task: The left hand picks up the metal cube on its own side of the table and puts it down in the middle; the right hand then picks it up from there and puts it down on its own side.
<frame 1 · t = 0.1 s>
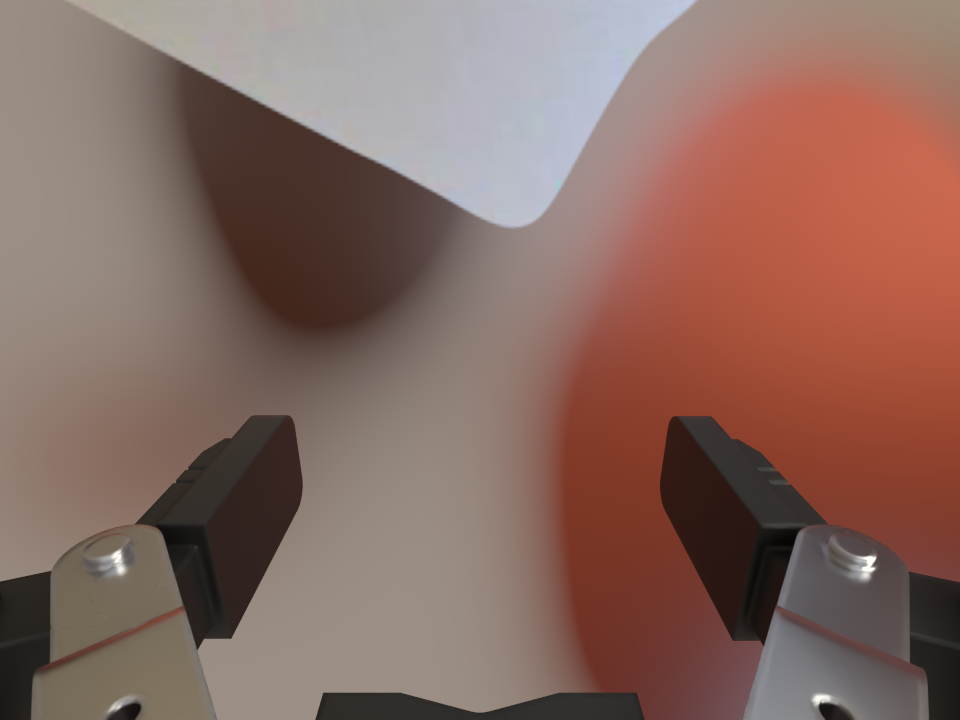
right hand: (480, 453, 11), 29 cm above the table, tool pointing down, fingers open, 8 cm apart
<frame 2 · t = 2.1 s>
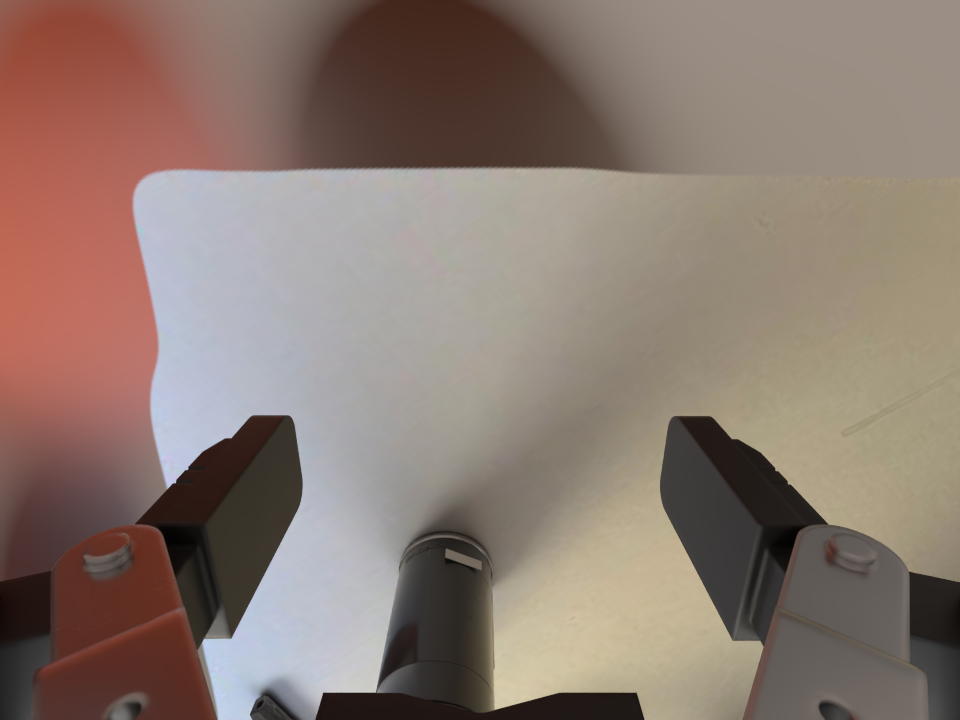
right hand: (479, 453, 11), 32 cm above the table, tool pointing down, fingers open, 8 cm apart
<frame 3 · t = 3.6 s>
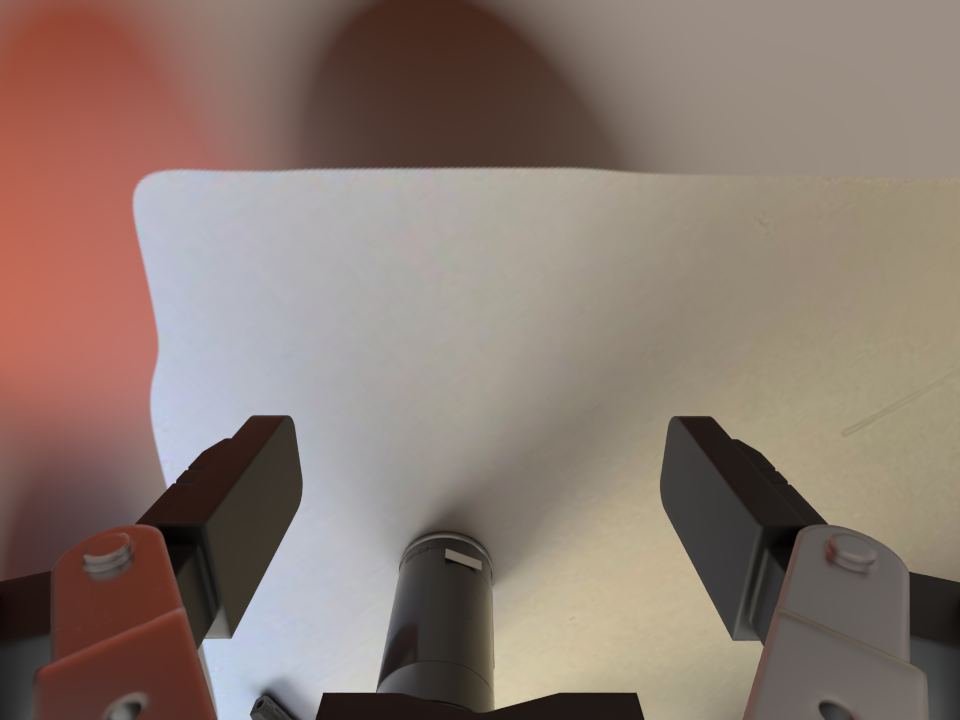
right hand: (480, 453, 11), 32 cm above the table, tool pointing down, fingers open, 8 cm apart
when the left hand's fingers open (2 cm above the table, at t = 5.1 s): metal cube stays where it is, on the table.
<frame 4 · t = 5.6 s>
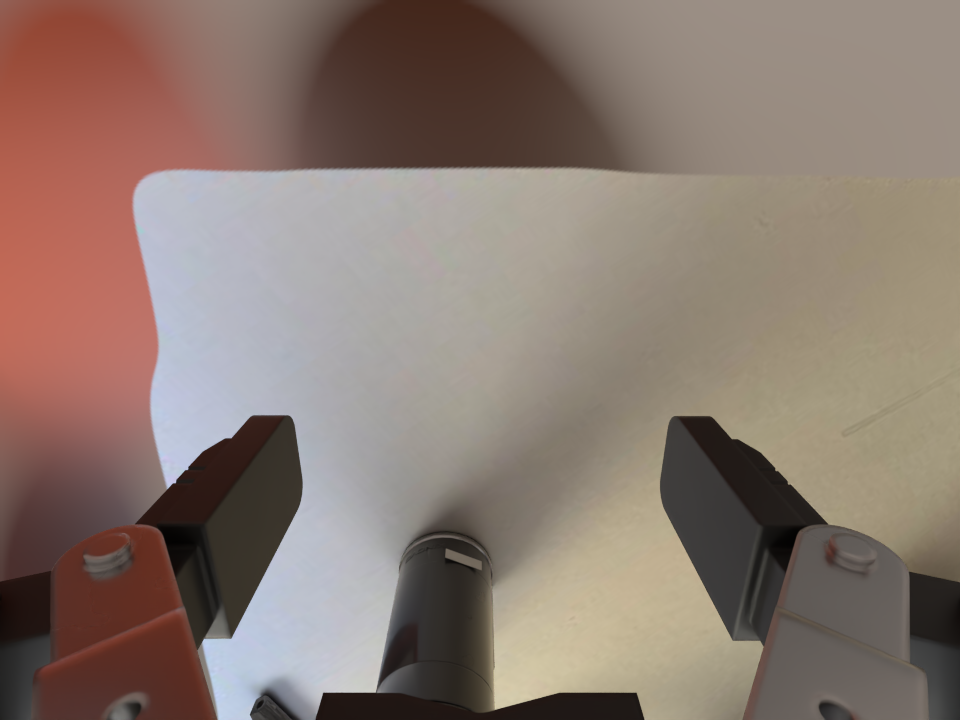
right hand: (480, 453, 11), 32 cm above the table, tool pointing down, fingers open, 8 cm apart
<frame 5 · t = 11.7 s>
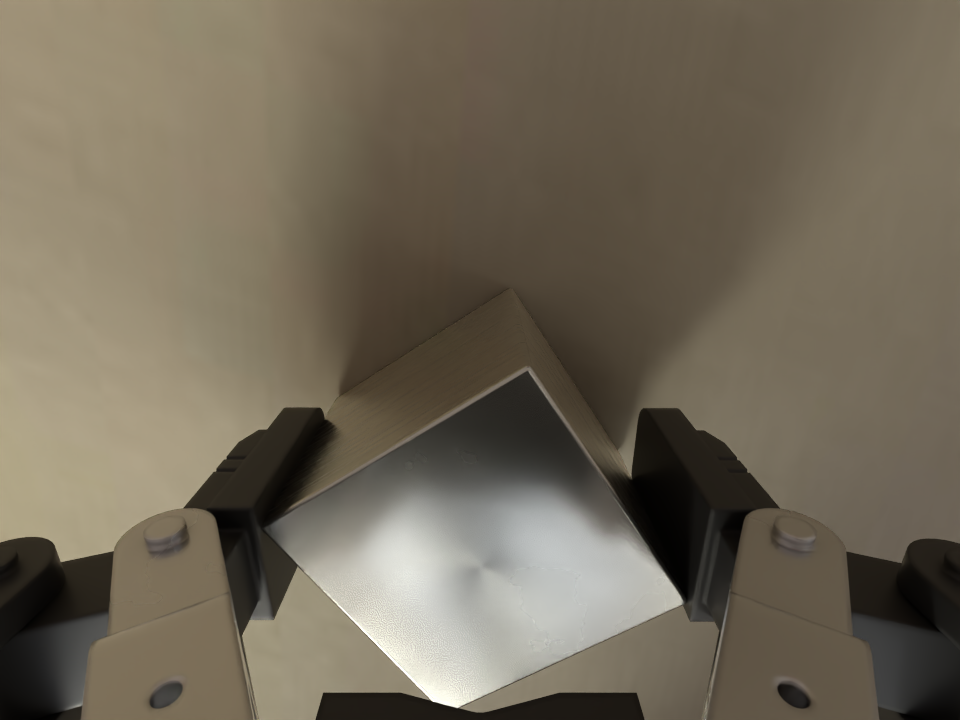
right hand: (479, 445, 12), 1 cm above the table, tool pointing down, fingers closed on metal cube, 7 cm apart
metal cube: (480, 426, 13), on the table, touching right hand
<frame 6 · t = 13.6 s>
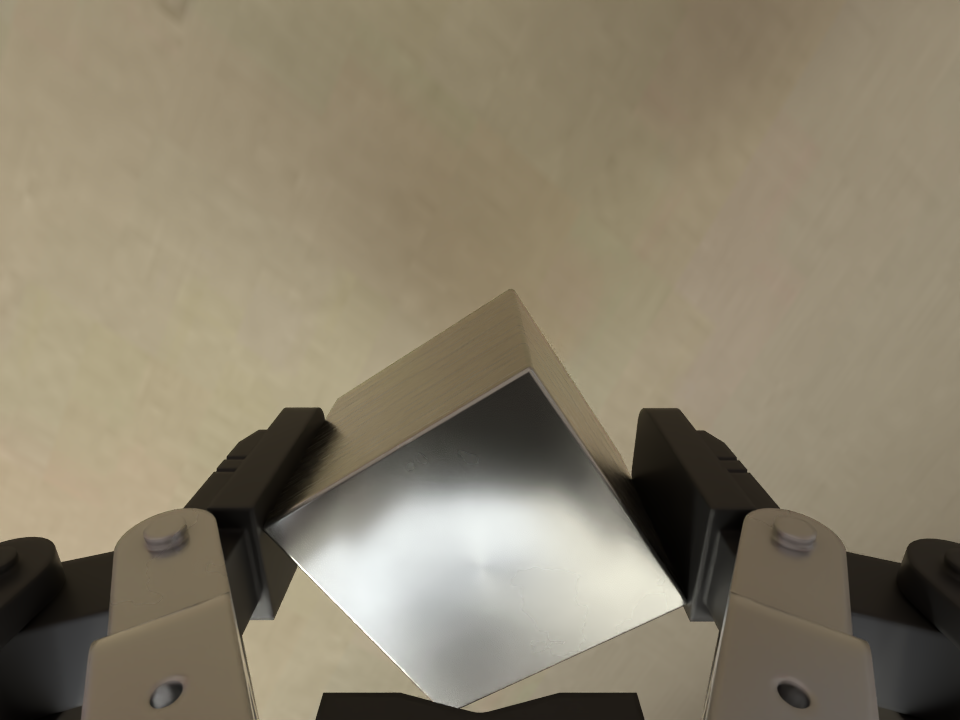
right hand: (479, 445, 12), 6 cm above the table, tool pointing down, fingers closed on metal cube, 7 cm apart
metal cube: (481, 427, 13), point 5 cm above the table, touching right hand
when the right hand's fingers open (2 cm above the table, at t = 16.0 s): metal cube stays where it is, on the table.
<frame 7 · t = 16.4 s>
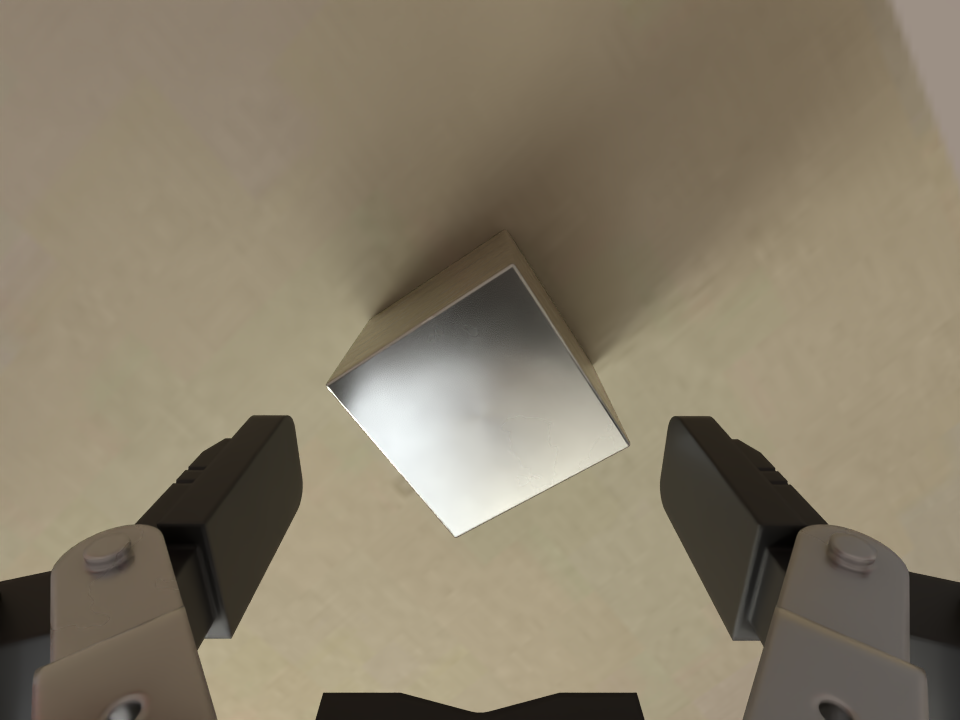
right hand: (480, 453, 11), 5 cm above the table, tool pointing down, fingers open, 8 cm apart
metal cube: (482, 343, 16), on the table
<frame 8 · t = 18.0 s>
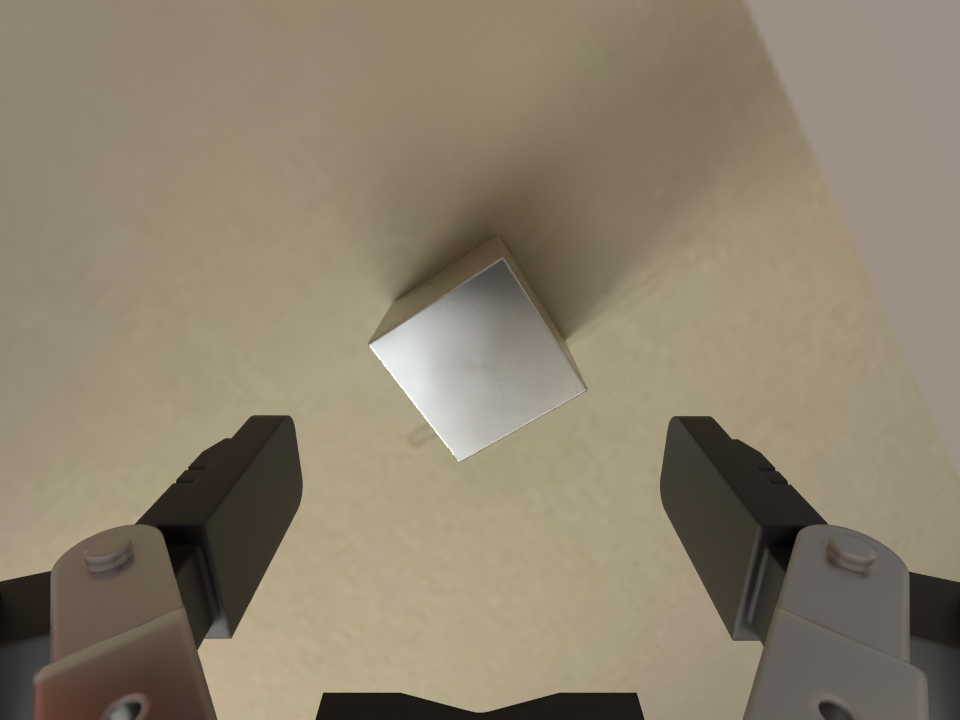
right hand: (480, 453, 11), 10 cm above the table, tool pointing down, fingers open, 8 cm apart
metal cube: (479, 323, 21), on the table
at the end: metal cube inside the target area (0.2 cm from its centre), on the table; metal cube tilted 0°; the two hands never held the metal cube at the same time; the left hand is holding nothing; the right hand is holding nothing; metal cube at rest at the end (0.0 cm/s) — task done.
